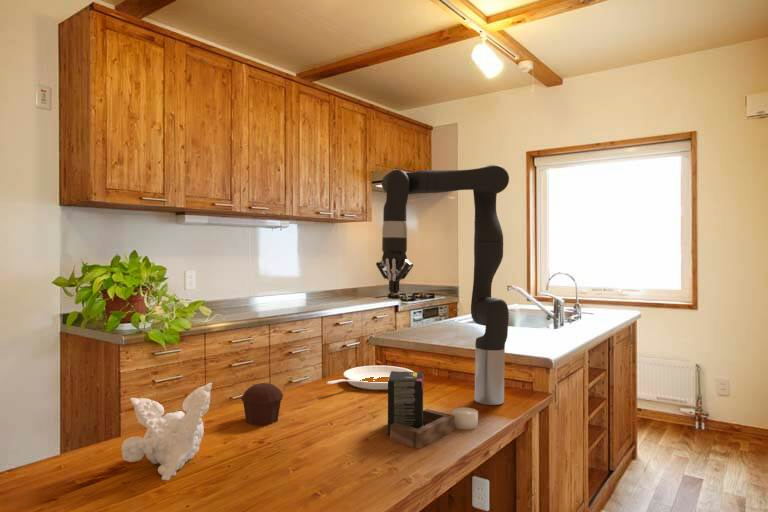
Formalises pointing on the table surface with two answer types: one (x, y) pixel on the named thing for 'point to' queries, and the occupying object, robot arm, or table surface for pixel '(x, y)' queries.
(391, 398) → the tampon box
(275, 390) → the muffin
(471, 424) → the rounded cream block
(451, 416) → the frame
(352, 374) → the pan
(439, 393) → the table surface
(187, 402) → the white animal figurine
